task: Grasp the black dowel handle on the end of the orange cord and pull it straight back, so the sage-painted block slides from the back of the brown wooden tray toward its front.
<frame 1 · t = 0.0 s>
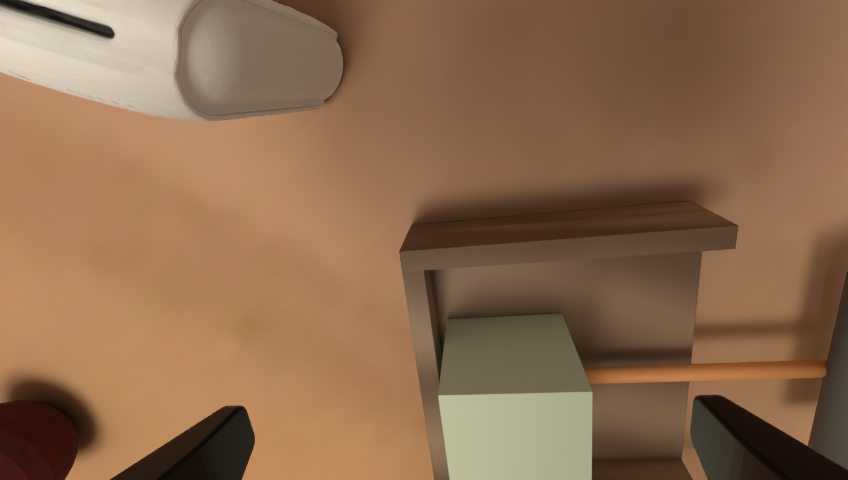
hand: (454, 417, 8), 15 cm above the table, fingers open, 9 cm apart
brown wooden tray: (548, 345, 24), on the table
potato: (56, 420, 31), on the table
corded block: (659, 398, 19), point 5 cm above the table, slide at 0.0 cm
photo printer: (246, 43, 21), on the table
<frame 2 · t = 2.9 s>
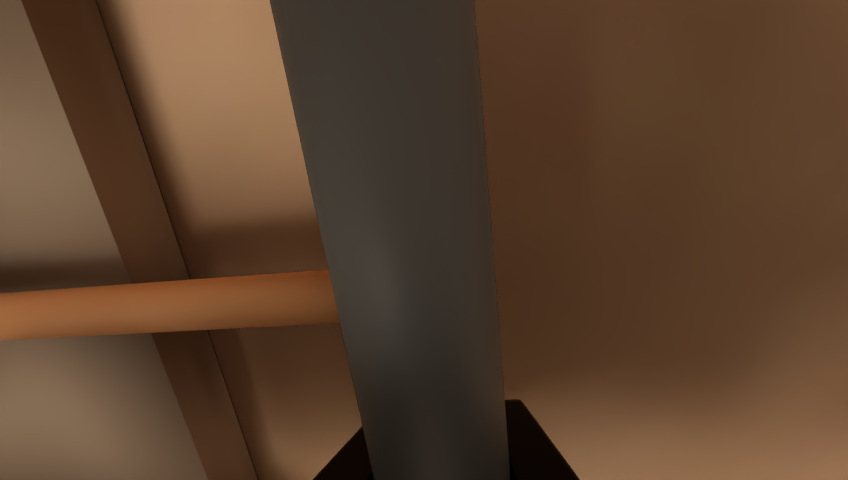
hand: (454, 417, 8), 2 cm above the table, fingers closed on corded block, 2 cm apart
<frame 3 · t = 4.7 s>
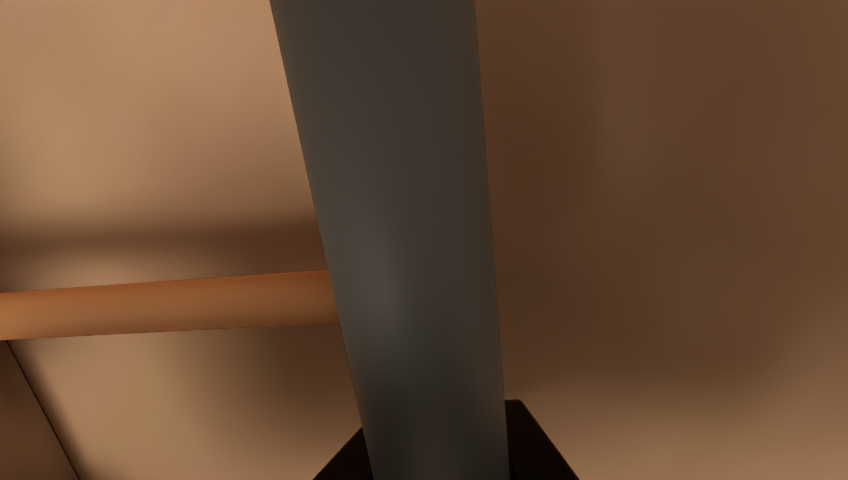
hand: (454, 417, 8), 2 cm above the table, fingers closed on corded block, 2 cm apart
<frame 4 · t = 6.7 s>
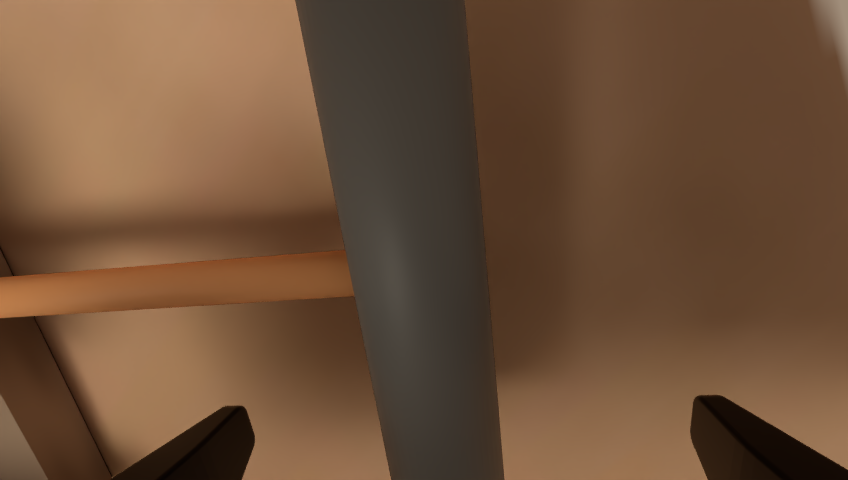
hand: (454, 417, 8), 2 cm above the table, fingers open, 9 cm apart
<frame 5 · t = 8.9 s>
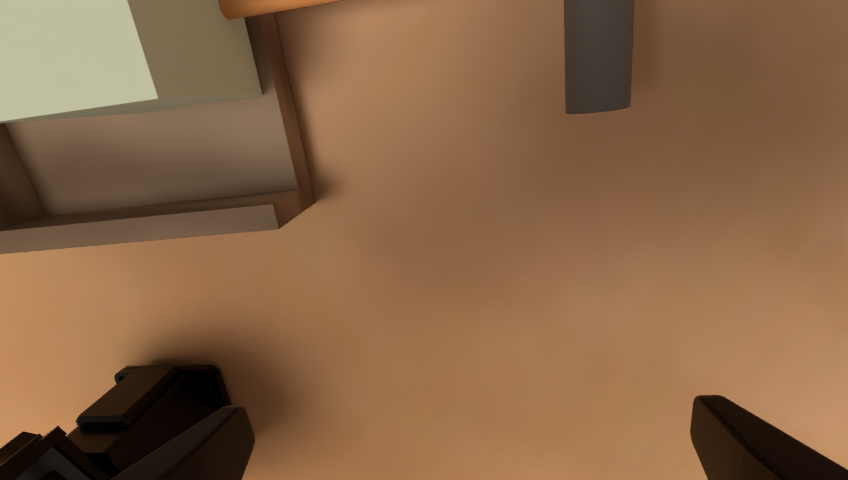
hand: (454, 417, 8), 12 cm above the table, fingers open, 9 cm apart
brown wooden tray: (127, 42, 18), on the table
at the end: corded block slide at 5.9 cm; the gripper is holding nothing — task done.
